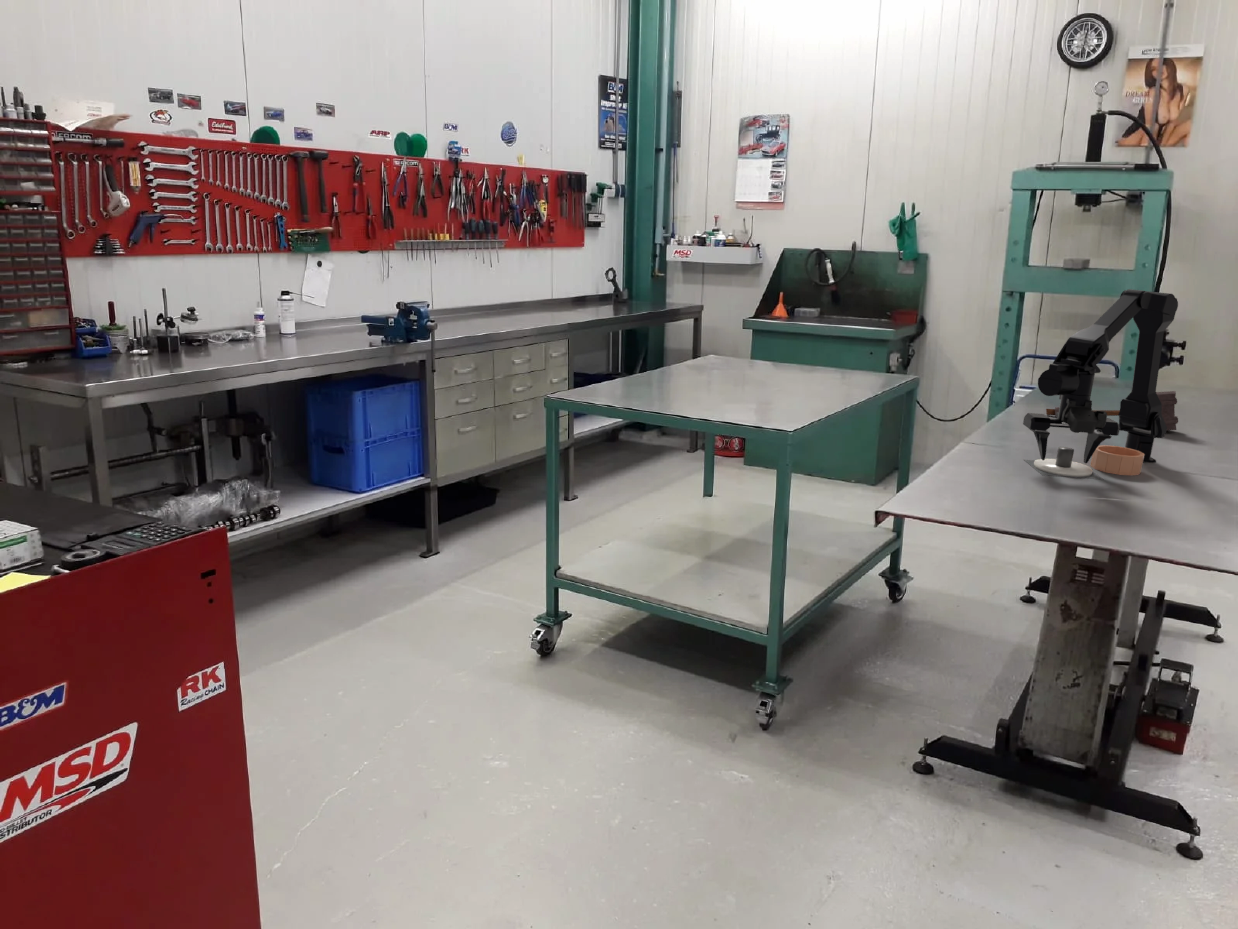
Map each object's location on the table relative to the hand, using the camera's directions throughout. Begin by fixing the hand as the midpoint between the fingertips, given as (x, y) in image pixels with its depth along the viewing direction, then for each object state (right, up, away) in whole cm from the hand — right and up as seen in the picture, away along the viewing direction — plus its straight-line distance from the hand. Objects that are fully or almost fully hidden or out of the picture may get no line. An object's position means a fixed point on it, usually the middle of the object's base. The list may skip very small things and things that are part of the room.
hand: (1063, 461), depth 204 cm
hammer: (+39, +10, +53) cm, 67 cm away
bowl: (+13, -2, +3) cm, 14 cm away
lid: (0, -2, 0) cm, 2 cm away
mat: (0, -2, +1) cm, 2 cm away
